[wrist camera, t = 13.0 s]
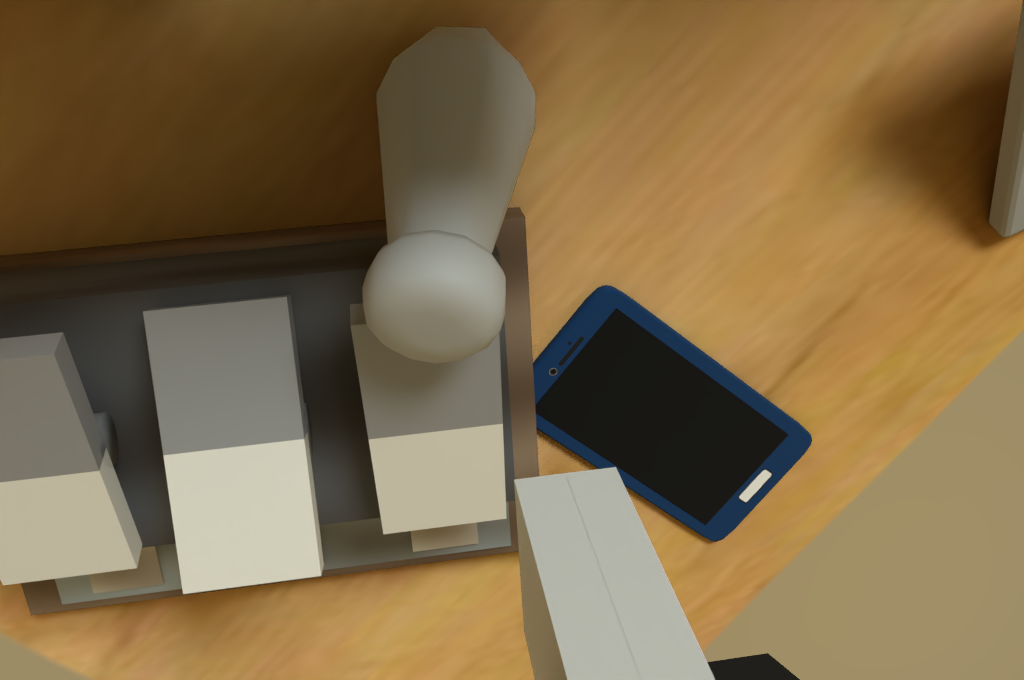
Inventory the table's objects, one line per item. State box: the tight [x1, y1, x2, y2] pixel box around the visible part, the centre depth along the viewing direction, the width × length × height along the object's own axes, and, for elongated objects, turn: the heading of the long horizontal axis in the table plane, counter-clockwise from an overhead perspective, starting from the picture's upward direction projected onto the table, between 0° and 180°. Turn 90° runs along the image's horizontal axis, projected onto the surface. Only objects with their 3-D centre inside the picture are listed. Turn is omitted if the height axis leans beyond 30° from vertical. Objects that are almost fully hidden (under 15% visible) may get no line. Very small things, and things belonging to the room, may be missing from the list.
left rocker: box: [0, 332, 142, 585], centre depth 33 cm, size 10×5×3 cm, turn 4°
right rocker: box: [350, 303, 507, 534], centre depth 35 cm, size 10×5×3 cm, turn 4°
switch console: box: [0, 207, 539, 615], centre depth 39 cm, size 16×23×5 cm
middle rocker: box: [143, 295, 324, 594], centre depth 34 cm, size 10×5×3 cm, turn 2°
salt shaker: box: [362, 26, 536, 364], centre depth 32 cm, size 6×6×13 cm
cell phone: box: [533, 285, 812, 542], centre depth 44 cm, size 7×14×1 cm, turn 51°
